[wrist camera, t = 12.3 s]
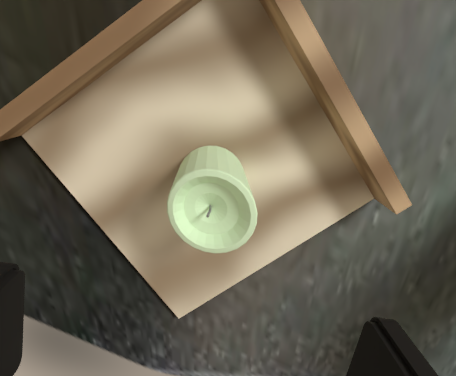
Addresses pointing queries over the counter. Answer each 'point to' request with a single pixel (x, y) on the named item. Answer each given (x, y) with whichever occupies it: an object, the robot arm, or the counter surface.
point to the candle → (212, 201)
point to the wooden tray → (204, 133)
